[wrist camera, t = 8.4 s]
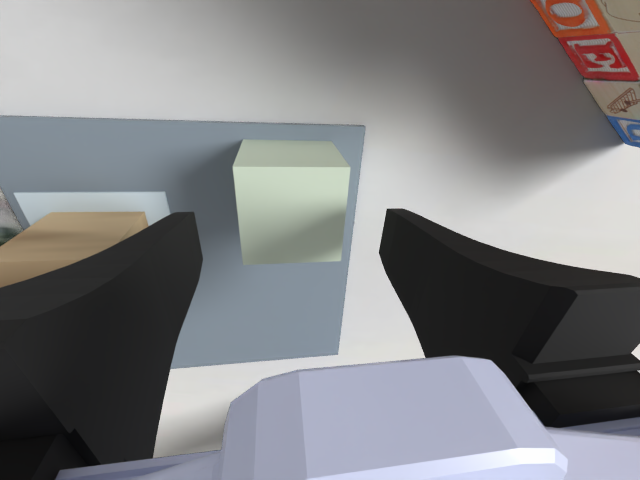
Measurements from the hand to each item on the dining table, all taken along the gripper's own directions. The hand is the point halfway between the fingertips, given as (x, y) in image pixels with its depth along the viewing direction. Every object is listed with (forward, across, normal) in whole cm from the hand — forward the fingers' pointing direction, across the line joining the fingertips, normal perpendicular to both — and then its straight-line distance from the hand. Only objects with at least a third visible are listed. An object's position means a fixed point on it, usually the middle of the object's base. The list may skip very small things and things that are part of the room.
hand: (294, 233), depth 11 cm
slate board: (+6, +5, +6) cm, 10 cm away
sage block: (+6, 0, 0) cm, 6 cm away
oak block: (+6, +10, +4) cm, 12 cm away
